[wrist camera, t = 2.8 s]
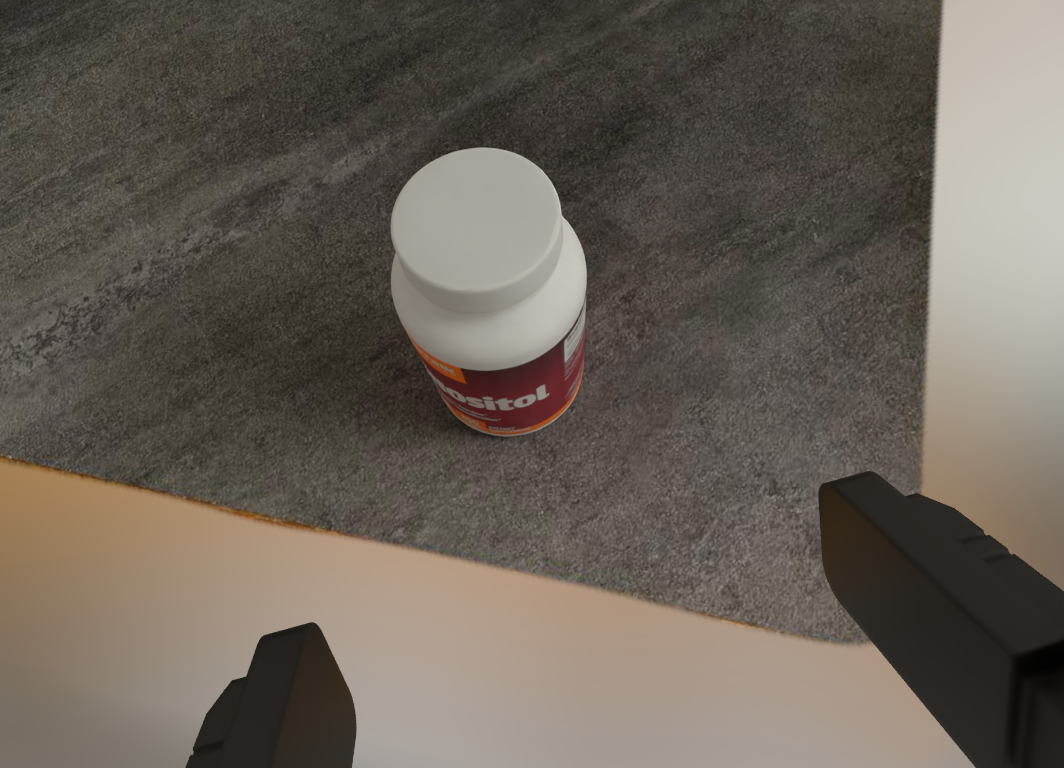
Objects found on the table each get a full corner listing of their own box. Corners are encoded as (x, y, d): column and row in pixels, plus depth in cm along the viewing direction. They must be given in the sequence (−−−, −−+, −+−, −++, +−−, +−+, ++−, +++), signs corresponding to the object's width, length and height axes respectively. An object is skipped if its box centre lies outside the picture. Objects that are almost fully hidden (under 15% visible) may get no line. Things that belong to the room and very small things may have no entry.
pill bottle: (420, 424, 27) (325, 292, 17) (461, 295, 29) (398, 109, 19) (566, 456, 26) (558, 338, 16) (598, 321, 28) (609, 140, 18)
